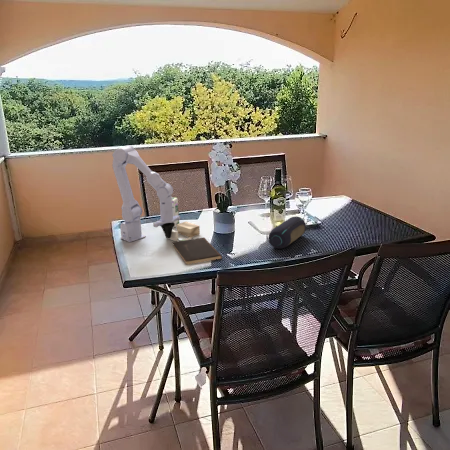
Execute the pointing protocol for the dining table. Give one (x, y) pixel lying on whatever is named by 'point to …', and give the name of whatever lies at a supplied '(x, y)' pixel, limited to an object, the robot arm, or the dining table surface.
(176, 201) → the syrup box
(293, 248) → the dining table surface
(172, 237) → the cream white block
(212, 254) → the hardcover book
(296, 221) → the portable speaker
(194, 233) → the tan cardboard box
